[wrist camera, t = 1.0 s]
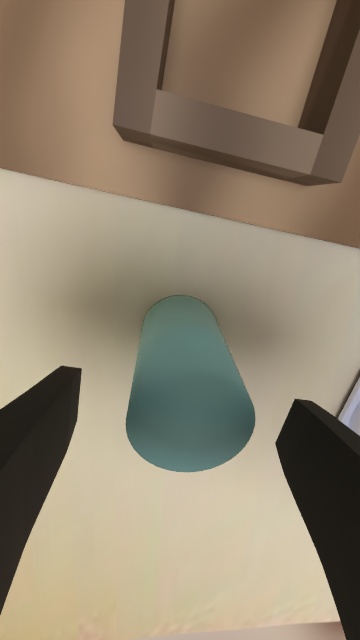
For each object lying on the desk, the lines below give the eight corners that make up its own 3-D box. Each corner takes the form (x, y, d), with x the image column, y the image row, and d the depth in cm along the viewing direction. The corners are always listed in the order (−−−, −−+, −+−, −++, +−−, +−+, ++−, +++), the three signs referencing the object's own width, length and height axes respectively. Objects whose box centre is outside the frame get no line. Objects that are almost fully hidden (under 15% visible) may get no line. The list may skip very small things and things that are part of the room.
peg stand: (567, -87, 10) (726, -199, 7) (398, 256, 14) (455, 270, 11) (-58, -357, 7) (-194, -701, 5) (-28, 161, 12) (-87, 149, 9)
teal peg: (225, 302, 15) (272, 381, 8) (206, 367, 16) (235, 477, 10) (148, 288, 14) (136, 360, 8) (137, 356, 16) (118, 465, 9)
